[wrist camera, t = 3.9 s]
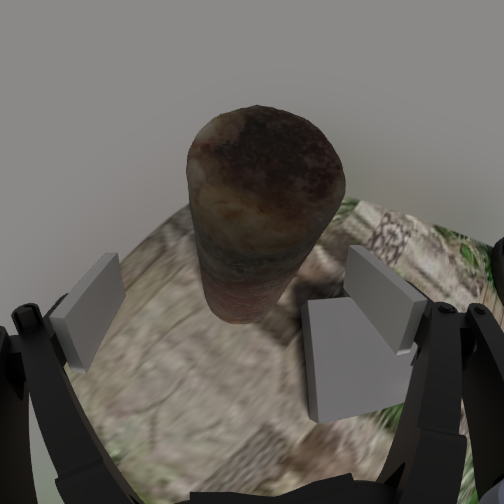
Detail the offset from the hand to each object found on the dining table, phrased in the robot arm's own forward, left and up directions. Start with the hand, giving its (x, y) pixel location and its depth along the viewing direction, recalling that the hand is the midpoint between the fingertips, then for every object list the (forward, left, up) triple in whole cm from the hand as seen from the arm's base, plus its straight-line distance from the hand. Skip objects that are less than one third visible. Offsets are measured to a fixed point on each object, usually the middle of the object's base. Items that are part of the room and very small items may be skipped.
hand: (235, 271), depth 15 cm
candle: (-1, -3, -14) cm, 15 cm away
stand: (-13, +5, -14) cm, 20 cm away
